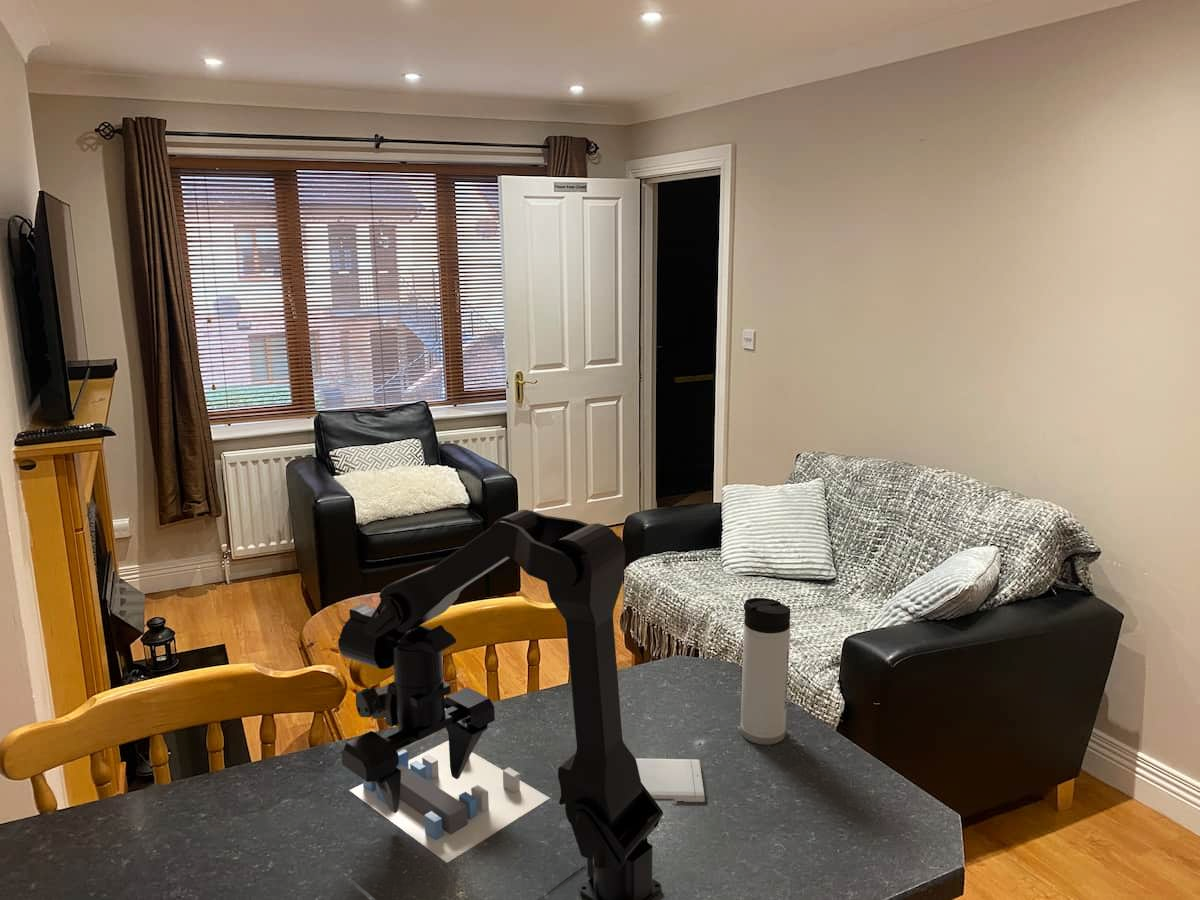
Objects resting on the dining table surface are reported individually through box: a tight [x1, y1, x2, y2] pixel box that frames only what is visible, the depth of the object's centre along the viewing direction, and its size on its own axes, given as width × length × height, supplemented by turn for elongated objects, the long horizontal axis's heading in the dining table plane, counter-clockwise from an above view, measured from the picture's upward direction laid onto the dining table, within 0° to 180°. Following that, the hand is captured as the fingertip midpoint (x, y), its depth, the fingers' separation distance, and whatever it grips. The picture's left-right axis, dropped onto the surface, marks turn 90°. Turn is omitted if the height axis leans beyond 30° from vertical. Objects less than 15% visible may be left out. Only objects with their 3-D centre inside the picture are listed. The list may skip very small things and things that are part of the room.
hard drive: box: [635, 757, 706, 803], centre depth 113 cm, size 2×8×12 cm
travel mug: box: [740, 597, 791, 746], centre depth 122 cm, size 6×7×20 cm
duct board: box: [348, 739, 551, 864], centre depth 110 cm, size 20×16×4 cm
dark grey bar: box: [396, 764, 468, 835], centre depth 107 cm, size 13×2×2 cm, turn 47°
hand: (425, 793), depth 107 cm, fingers open, 9 cm apart
